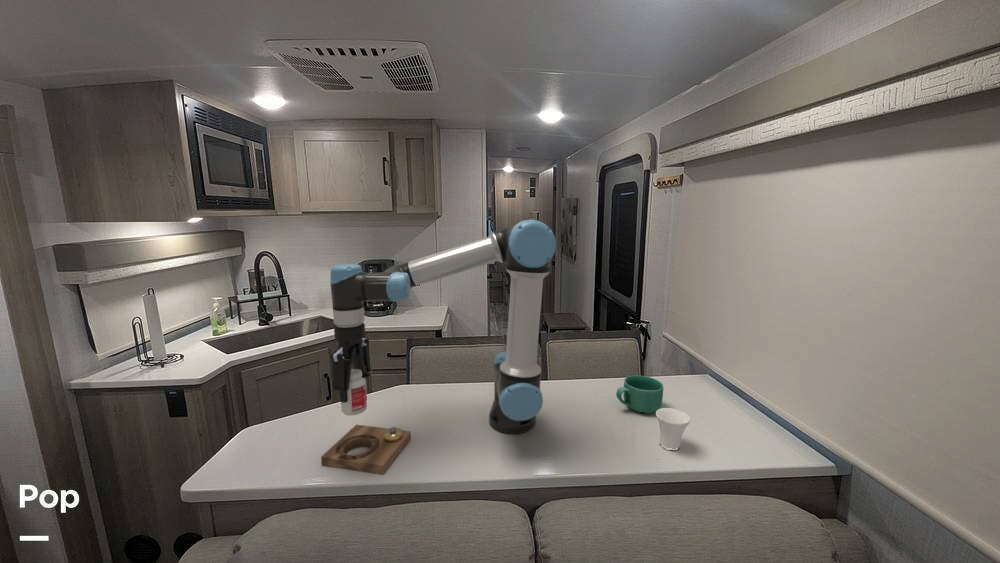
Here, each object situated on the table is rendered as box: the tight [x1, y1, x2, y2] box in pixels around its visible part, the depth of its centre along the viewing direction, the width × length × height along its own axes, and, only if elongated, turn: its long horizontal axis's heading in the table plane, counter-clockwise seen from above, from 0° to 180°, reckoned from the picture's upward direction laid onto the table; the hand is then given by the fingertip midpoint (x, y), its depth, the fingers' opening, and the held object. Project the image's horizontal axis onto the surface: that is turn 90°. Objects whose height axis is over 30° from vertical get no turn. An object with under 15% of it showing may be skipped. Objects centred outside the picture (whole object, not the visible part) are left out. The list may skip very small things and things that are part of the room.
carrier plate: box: [320, 424, 412, 475], centre depth 104 cm, size 18×16×2 cm
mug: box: [615, 375, 664, 414], centre depth 127 cm, size 17×13×10 cm
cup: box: [655, 407, 691, 449], centre depth 105 cm, size 9×9×10 cm
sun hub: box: [384, 426, 402, 443], centre depth 106 cm, size 5×5×3 cm
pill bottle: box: [342, 368, 368, 416], centre depth 99 cm, size 6×6×11 cm
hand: (354, 405), depth 100 cm, fingers closed on pill bottle, 6 cm apart
